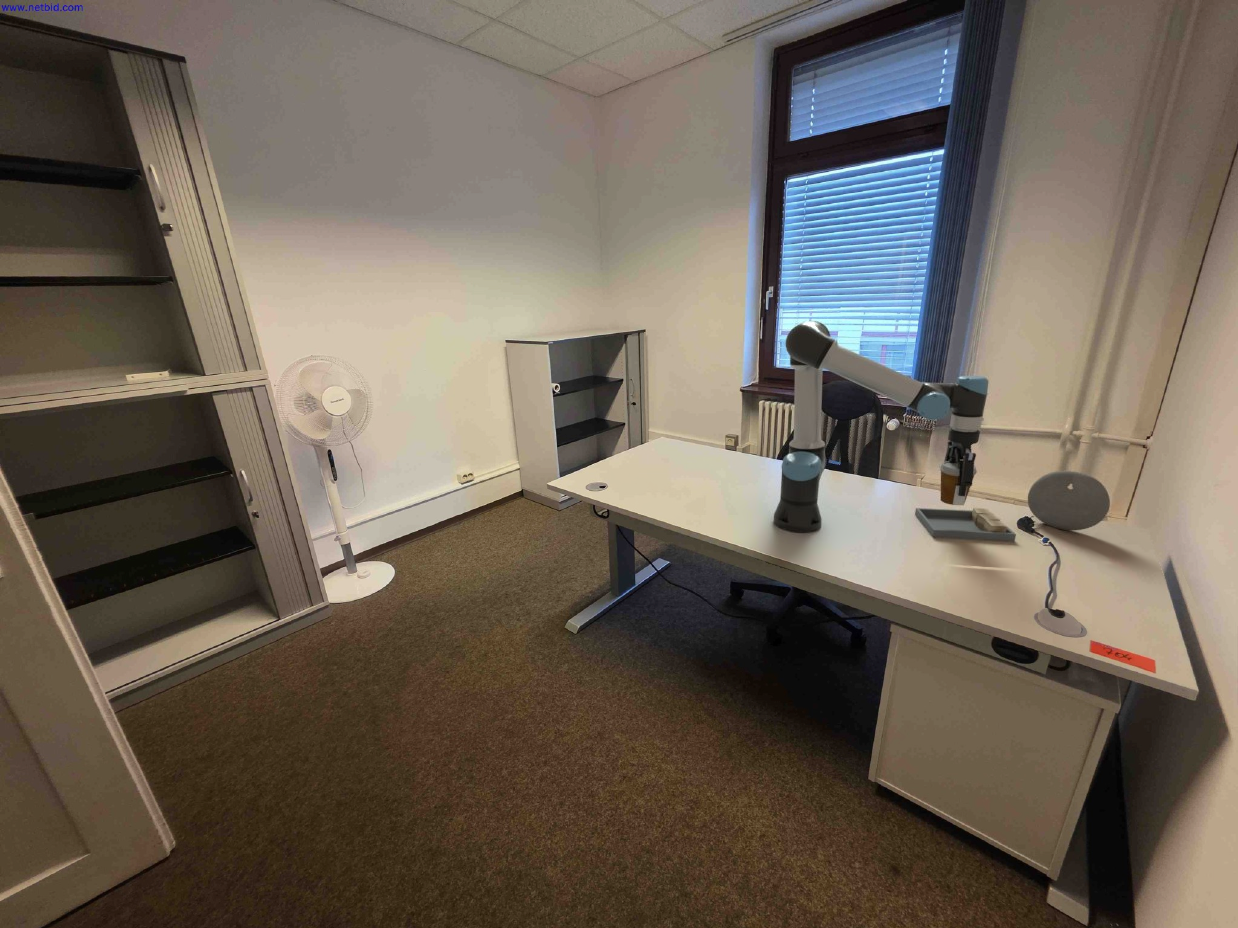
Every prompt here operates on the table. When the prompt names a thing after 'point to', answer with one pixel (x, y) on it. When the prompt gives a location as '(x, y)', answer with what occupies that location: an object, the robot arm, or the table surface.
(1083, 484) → the dark grey disc
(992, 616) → the table surface
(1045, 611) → the table surface
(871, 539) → the table surface
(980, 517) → the block
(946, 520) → the tray
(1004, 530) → the block
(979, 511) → the block
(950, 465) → the disposable coffee cup
